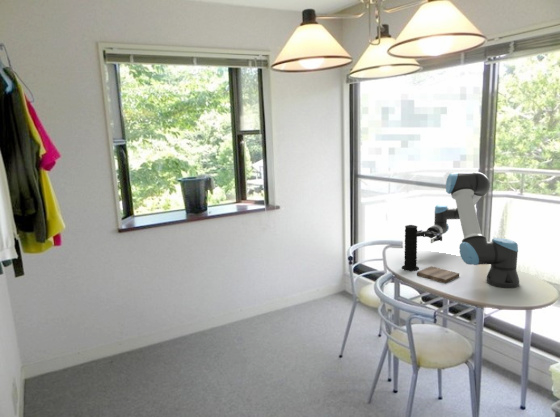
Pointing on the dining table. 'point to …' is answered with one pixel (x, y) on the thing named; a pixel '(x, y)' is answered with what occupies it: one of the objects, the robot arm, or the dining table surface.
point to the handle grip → (410, 248)
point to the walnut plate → (438, 274)
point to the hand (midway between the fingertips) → (420, 239)
